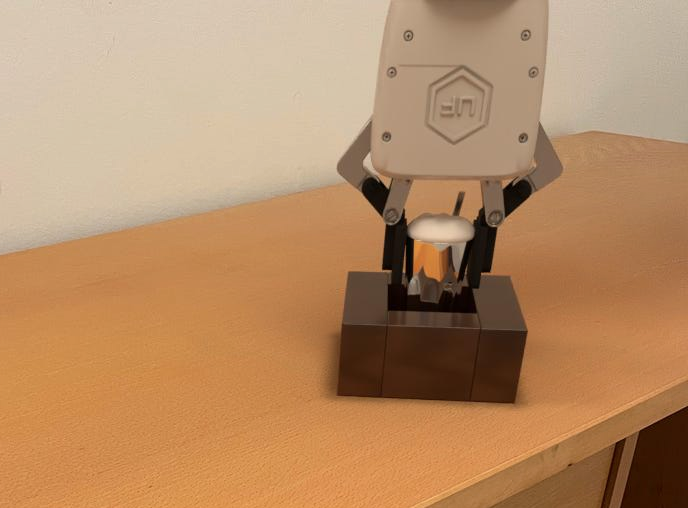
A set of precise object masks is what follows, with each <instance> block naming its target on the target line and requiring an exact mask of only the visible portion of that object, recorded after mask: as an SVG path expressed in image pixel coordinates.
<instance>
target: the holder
mask: <svg viewBox="0 0 688 508" xmlns="http://www.w3.org/2000/svg"><path fill="white" fill-rule="evenodd" d="M346 276H347V277H346V285H345V292H344V293H345V294H344V301H343V309H342V319H341V327H340V342H339V356H338V357H339V359H338V371H337V372H338V374H337V388H336V395H337V396H351V397H353V396H354V397H371V398H372V397H373V398H374V397H375V398H376V397H377V398H380V397H381V398H395V399H396V398H397V399H420V400H422V399H423V400H442V401H465V402H469V401H470V402H490V403H509V404H510V403H516V399H517V394H518V389H519V382H520V378H521V377H520V376H521V371H522V365H523V361H524V356H525V350H526V345H527V338H528V333H529V329H528V326H527V324H526V320H525V317H524V314H523V311H522V309H521V308H522V307H521V305H520V302H519V299H518V296H517V293H516V290H515V287H514V283H513V281H512V278H511V275H501V274H500V275H499V274H498V275H497V274H494V275H493V274H481V280H480V286H479V289H471V287H468V283H467V278H466V273H465V275H464V280H463V284H462V289H461V293H460V298H459V302H458V307H457V311H456V313H442V312H412V311H403V306H404V286H405V272H403V275H402V284H401V285H399V286H398V287H395V286H391V271H388V272H387V271H361V270H360V271H357V270H348V271H347V275H346Z"/></svg>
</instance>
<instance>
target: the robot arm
mask: <svg viewBox="0 0 688 508" xmlns="http://www.w3.org/2000/svg"><path fill="white" fill-rule="evenodd" d="M549 12H550V11H549V0H390V2H389V5H388V9H387V13H386V17H385V22H384V23H385V24H384V28H383V34H382V40H381V45H380V50H379V51H380V52H379V57H378V66H377V74H376V83H375V91H374V98H373V99H374V100H373V108H372V114H371V116H370V117H369V118H368V120H366V122H365V123H364V125H363V126H362V128H360V130H359V132H357V135H355V137H354V138H353V140H352V141H351V142H350V143H349V144H348V146H347V147H346V149H345V150H344V152H343V153H342V154H341V156H340V157H339V159H338V161H337V162H336V172H337V173H338V175H340V176H341V177H342V178H343V179H344V180H345V181H346V182H348V183H349V184H350V185H351V186H352V187H354V188H355V189H357V191H359V192H360V193H361V194H362V195H363V197H364V198H365V199H366V201H367V202H368V203H369V205H371V206H372V208H373V209H374V210H375V211H376V212H377V213H378V215H379V216H380V217H381V218H382V220H383V222H384V224H385V227H384V239H383V249H382V250H383V251H382V259H381V271H390V272H391V286H395V287H398V286H399V285H401V284H402V275H403V273H404V267H405V254H406V236H407V225H408V218H407V217H406V208H405V206H406V203H407V200H408V198H409V195H410V191H411V189H412V186H413V182H414V181H417V180H418V181H473V182H474V181H476V182H477V181H479V186H480V195H481V204H482V207H481V208H480V209H479V210H478V214H477V215H476V219H473V220H472V224H473V226H474V228H475V236H474V240H473V244H472V248H471V251H470V255H469V259H468V263H467V267H466V271H465V274H466V278H467V283H468V287H471V289H479V286H480V280H481V275H482V274H490V273H491V272H492V266H493V261H494V254H495V248H496V241H497V236H498V235H497V234H498V229H499V227H500V226H502V224H503V223H504V221H505V219H506V218H508V217H509V216H510V215H511V214H512V213H513V212H514V211H515V210H517V209H518V208H519V207H520V206H522V204H524V203H525V202H526V201H527V200H528V199H529V198H530V197H531V196H532V195H533V194H535V193H536V192H539V191H540V190H542V189H543V188H545V187H546V186H549V184H551V183H552V182H554V181H555V180H557V179H558V178H560V176H561V175H562V174H563V171H564V166H563V163H562V162H561V160H560V158H559V155H558V154H557V151H556V150H555V147H554V146H553V145H552V143H551V140H550V139H549V136H548V135H547V133H546V131H545V129H544V127H543V125H542V122H541V121H540V120H541V119H540V118H541V112H542V111H541V110H542V103H543V93H544V86H545V77H546V76H545V75H546V65H547V53H548V43H549V42H548V41H549V15H550V13H549ZM369 154H370V163H371V165H372V168H373V169H374V171H375V172H377V173H378V174H380V175H381V176H384V177H386V178H389V179H390V181H389V185H388V187H387V186H386V184H385V183H384V182H383V181H382V180H381V178H379V176H378V175H377V174H374V173H373V172H372V171H371V170H370V169H369V168H368V167H367V166H366V165H365V163H364V160H365V159H366V158H367V156H368V155H369ZM533 160H534V161H533ZM532 164H533V165H532ZM508 180H510V182H508V184H507V185H505V186H504V187H503V181H508Z"/></svg>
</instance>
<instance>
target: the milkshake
mask: <svg viewBox="0 0 688 508" xmlns="http://www.w3.org/2000/svg"><path fill="white" fill-rule="evenodd" d="M465 196H466V191H462V190H459V191H458V194H457V197H456V201H455V204H454V208H453V211H452V212H453V213H452V214H449V213H446V212H442V213H430V212H425V213H422V214H420V215H418V216H417V217H415V218H413V219H412V220H411V221H410V222H409V223H407V236H406V246H405V256H404V273H405V286H404V306H403V311H412V312H442V313H456V311H457V307H458V302H459V298H460V293H461V289H462V284H463V280H464V275H465V274H466V271H467V263H468V259H469V255H470V251H471V248H472V244H473V240H474V236H475V228H474V226H473V222H471V221H470V220H469V219H468V218H466V217H464V216H461V215H460V214H461V210H462V207H463V204H464V199H465Z"/></svg>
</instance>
